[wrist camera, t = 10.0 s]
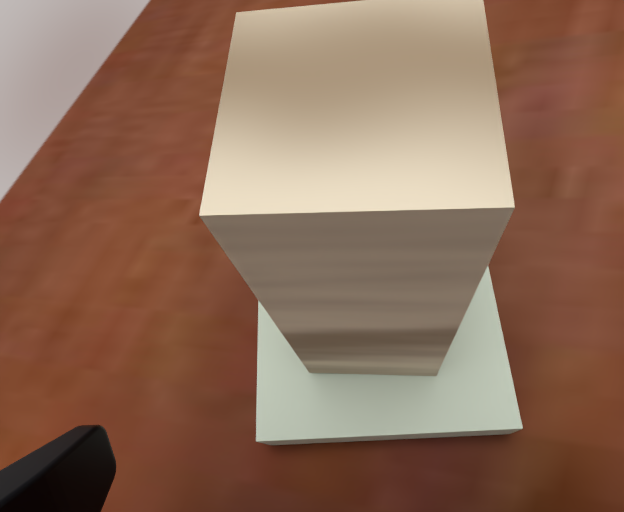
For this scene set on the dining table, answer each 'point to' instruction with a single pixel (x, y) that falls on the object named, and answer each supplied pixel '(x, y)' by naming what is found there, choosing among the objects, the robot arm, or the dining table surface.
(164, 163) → the dining table surface
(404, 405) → the sage block
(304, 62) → the birch pillar
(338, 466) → the dining table surface
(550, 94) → the dining table surface
